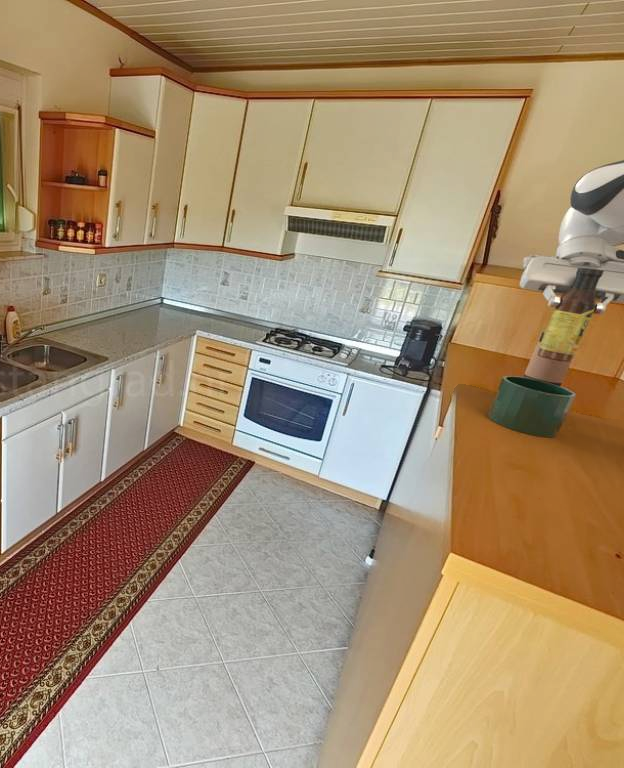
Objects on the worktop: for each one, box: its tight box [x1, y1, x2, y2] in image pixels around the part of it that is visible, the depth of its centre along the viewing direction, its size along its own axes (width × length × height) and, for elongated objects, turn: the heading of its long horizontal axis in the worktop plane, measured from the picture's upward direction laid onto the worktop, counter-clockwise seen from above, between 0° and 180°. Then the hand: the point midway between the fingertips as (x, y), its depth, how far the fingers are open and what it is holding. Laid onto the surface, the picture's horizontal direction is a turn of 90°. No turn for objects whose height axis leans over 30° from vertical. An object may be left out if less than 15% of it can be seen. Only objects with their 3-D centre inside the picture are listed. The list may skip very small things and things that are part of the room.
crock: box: [487, 375, 577, 438], centre depth 114 cm, size 13×13×10 cm
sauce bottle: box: [537, 267, 604, 362], centre depth 105 cm, size 6×6×20 cm
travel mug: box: [522, 331, 575, 387], centre depth 125 cm, size 8×8×20 cm
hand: (576, 308), depth 104 cm, fingers closed on sauce bottle, 6 cm apart
